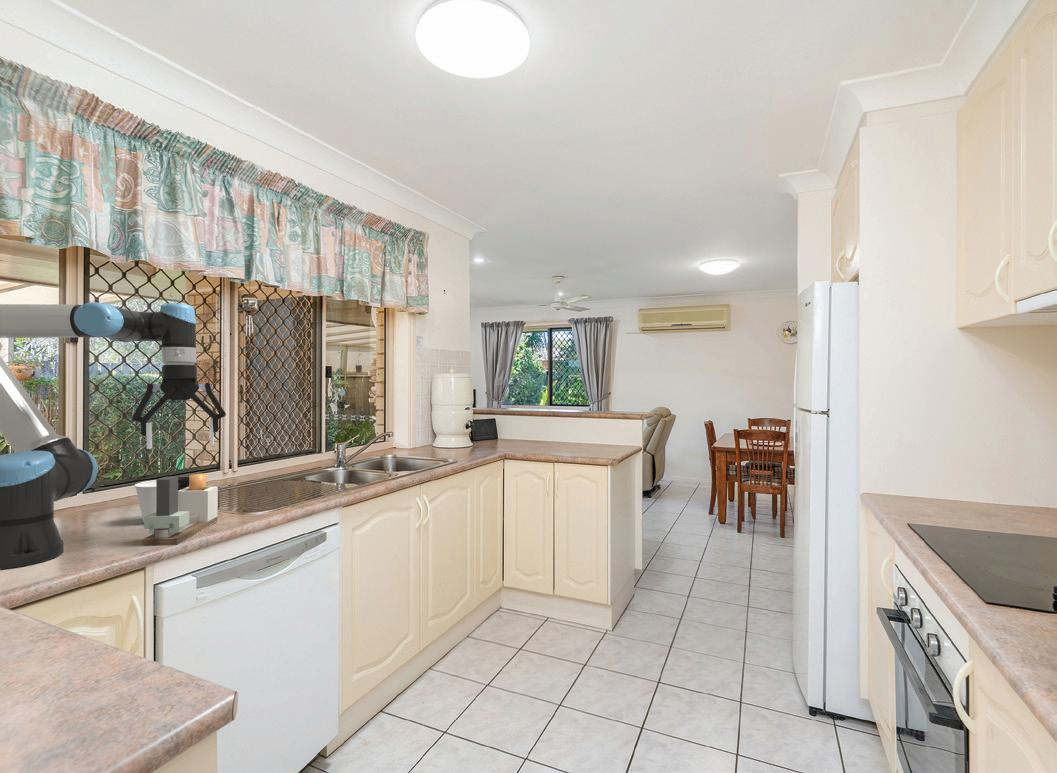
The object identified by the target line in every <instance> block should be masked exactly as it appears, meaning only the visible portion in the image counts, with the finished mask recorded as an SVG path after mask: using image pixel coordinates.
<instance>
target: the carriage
mask: <svg viewBox="0 0 1057 773" xmlns="http://www.w3.org/2000/svg"><path fill="white" fill-rule="evenodd" d="M155 480H156V512H154V513H152V514H149V515H147V516H145V517H144V522H143V529H144V530H148V529H149V530H148V532H149V533H148V534H149V535H152V534H154V533H155V530H156V529H163V528H169V533H175V532H177V531H179V530H181V529H183V528H184V525H186V524H188V523H189V511H178V477H177V476H164V477H160V478H157V479H155Z"/></svg>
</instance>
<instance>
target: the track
mask: <svg viewBox="0 0 1057 773" xmlns="http://www.w3.org/2000/svg"><path fill="white" fill-rule="evenodd" d="M217 520H218V516H217V517H215V518H214V519H212V520H210V521H208V522H198V515H189V523H188V524H186V525H184V528H183V529H181V530H179V531H177V532H175V533H169V528H163V529H156V530H155V533H154V534H149V535H147V536H146V537H143V538H142V539H141V546H142V545H145V546H175V545H176V546H177V545H178V544H181V543H182V542H184V541H186V540H188V539H190V538H192V537H194V534H195V535H196V533H197V532H198V533H200V532H201V530H202V529H204V528H205V529H207V528H208V527H207V526H209V525H210V524H212V523H214V522H215V521H217ZM214 524H215V523H214ZM212 525H213V524H212ZM206 527H207V528H206ZM209 527H210V526H209ZM205 529H204V530H205ZM199 531H200V532H199ZM202 531H203V530H202ZM198 533H197V534H198ZM187 538H188V539H187ZM185 539H186V540H185Z"/></svg>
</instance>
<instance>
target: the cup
mask: <svg viewBox="0 0 1057 773" xmlns="http://www.w3.org/2000/svg"><path fill="white" fill-rule="evenodd" d="M156 480H157V479H154V480H153V479H152V480H147V481H141V482H138V483H135V484H134V487H135V490H136V491H135V492H136V494H137V499H138V504H139V508H140V512H141V517H142V522H143V523H144V517H145V516H147V515H149V514H152V513H154V512H156Z"/></svg>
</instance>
